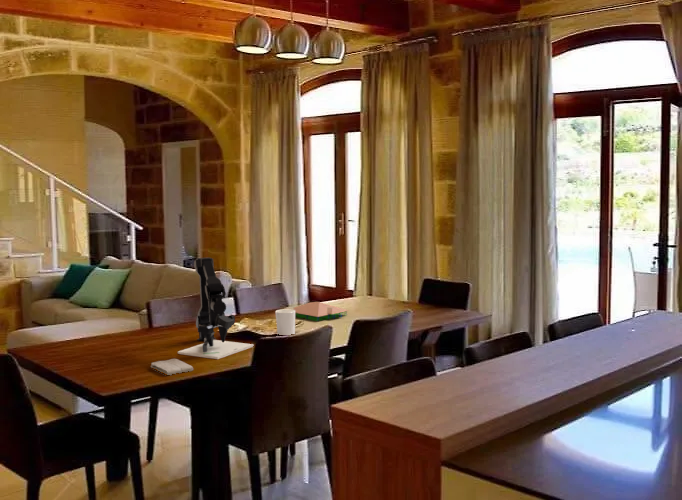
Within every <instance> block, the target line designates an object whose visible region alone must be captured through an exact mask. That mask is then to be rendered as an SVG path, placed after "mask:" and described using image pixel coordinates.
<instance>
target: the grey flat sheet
mask: <svg viewBox="0 0 682 500" xmlns="http://www.w3.org/2000/svg"><path fill="white" fill-rule="evenodd" d="M203 344H204V342H203V343H201V344H197V345H194V346H191V347H188V348H184V349H181V350H179V351H177V354H179V355H185V356H192V357H198V358H199V357H200V358H207V359H215V360H219V359H223V358H225V357H228V356H232V355H233V354H236V353H239V352H242V351H245V350H247V349H251V348H254V347H255V346H254V344H253V343H251V344H250V343H246V342H245V343H243V342H237V341H236V342H235V341H228V340H225V341H224V342H222V341H221V339H220V340H219V339H213V346H210V347H209V348H208V350H207V352H203ZM253 346H254V347H253Z"/></svg>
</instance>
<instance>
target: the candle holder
mask: <svg viewBox="0 0 682 500" xmlns="http://www.w3.org/2000/svg"><path fill="white" fill-rule="evenodd" d="M293 309H294V308H284V309H283V308H281V309H277V310H275V321H276V330H277V331H276V332H277V335H278V334H279V335H291V334H295V335H296V317H295V310H293Z"/></svg>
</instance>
